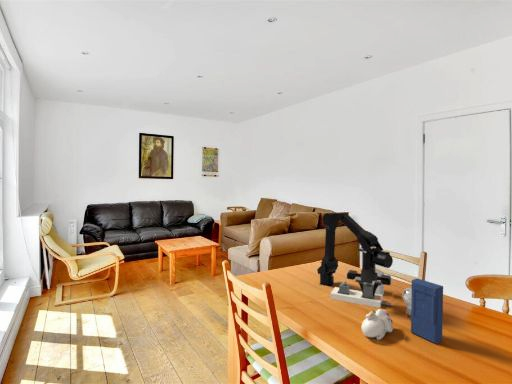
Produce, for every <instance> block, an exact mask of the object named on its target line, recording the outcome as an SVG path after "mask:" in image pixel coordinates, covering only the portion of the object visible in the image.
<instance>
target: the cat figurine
mask: <svg viewBox="0 0 512 384" xmlns="http://www.w3.org/2000/svg"><path fill="white" fill-rule="evenodd" d="M361 331H362V333H363V334H364V335H365V337H367V338H376V340H377V341H380V340H382V339H383V338H384V337H385V335H386V333H392V332H393V319H392V318H391V316H390V314H389V313H388V312H387V310H386V309H382V308H378V309H377V310H376V309H375V310H374V309H371V310H370V311H369V312H368V313H367V314H366V315H365V319H364V320H363V321H362V322H361Z"/></svg>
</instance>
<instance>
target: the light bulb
mask: <svg viewBox="0 0 512 384" xmlns="http://www.w3.org/2000/svg"><path fill="white" fill-rule="evenodd" d="M401 294H402V295H401V297H402V299H403V301H404V304H405V305H406V306H405V307H406V314H408V315H409V316H410V317H411V297H412V289H411V287H407V288H405V289H404V290H403V291H402V293H401Z"/></svg>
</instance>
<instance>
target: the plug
mask: <svg viewBox="0 0 512 384" xmlns="http://www.w3.org/2000/svg"><path fill="white" fill-rule="evenodd" d="M373 289H374V285H373V284H369V283H365V284H364V286H363V298H367V299H373V298H374V297H373Z"/></svg>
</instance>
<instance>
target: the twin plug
mask: <svg viewBox="0 0 512 384" xmlns="http://www.w3.org/2000/svg"><path fill="white" fill-rule="evenodd" d="M338 287H339V294H345V295H349V291H350V287H351V286H350V284H349V283H347V281H344V280H343V281H342V282H340V284H339V285H338Z"/></svg>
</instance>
